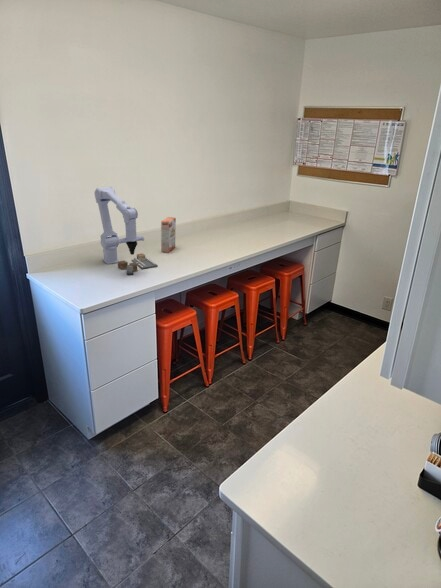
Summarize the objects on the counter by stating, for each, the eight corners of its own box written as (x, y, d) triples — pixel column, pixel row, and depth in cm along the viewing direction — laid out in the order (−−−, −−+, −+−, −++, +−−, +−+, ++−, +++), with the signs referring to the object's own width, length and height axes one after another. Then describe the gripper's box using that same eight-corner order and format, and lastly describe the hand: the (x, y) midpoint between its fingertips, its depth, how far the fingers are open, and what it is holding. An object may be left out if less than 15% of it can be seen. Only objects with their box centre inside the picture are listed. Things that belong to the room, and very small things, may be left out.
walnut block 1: (118, 268, 234) (117, 261, 232) (124, 266, 236) (123, 260, 235) (121, 270, 231) (121, 263, 229) (127, 268, 234) (127, 262, 232)
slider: (136, 259, 245) (136, 253, 244) (142, 258, 248) (142, 252, 246) (139, 261, 242) (139, 255, 241) (145, 260, 245) (145, 254, 243)
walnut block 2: (129, 269, 232) (129, 263, 231) (136, 269, 234) (136, 262, 232) (130, 271, 229) (130, 265, 227) (137, 271, 230) (137, 264, 229)
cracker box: (169, 253, 263) (169, 222, 254) (161, 252, 264) (160, 221, 255) (176, 247, 275) (176, 217, 267) (167, 246, 276) (167, 216, 268)
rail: (131, 261, 245) (131, 257, 244) (146, 258, 250) (146, 255, 249) (142, 269, 233) (142, 265, 232) (157, 266, 238) (157, 263, 237)
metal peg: (126, 273, 226) (125, 265, 224) (132, 272, 228) (131, 264, 226) (128, 275, 223) (127, 267, 221) (134, 274, 225) (134, 266, 223)
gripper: (120, 233, 213) (122, 258, 218) (146, 231, 221) (146, 254, 226) (116, 230, 218) (117, 254, 224) (140, 228, 226) (141, 250, 231)
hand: (132, 254), depth 225 cm, fingers closed
